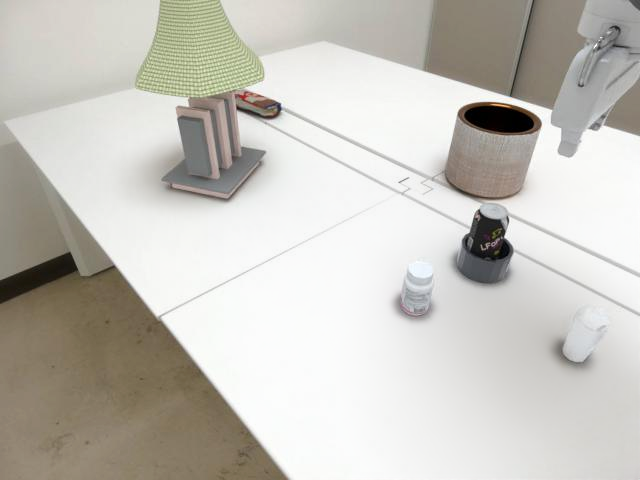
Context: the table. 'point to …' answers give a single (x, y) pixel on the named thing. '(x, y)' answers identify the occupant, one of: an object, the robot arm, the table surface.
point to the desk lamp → (203, 92)
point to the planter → (492, 148)
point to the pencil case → (257, 103)
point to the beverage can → (488, 231)
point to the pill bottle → (417, 288)
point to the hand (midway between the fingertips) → (580, 140)
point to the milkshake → (586, 332)
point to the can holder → (484, 263)
